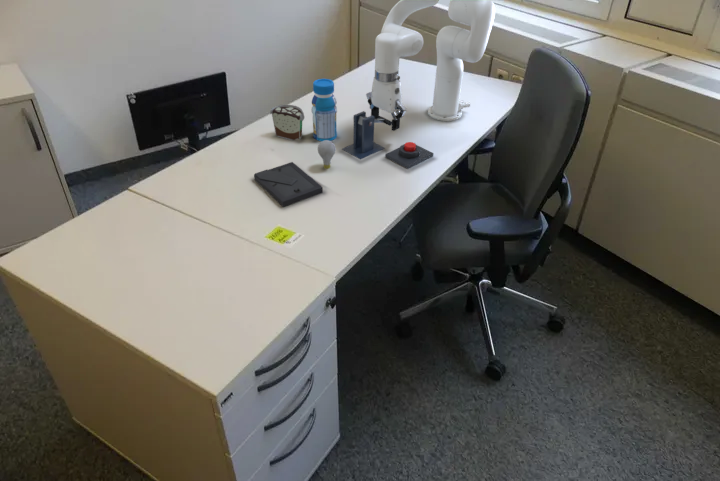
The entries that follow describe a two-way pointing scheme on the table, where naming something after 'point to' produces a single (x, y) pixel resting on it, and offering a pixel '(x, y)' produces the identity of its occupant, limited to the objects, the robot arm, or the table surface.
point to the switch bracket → (363, 138)
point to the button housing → (409, 156)
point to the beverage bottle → (324, 110)
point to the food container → (287, 121)
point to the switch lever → (376, 120)
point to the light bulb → (326, 152)
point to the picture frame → (288, 184)
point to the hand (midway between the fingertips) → (385, 124)
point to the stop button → (410, 147)
